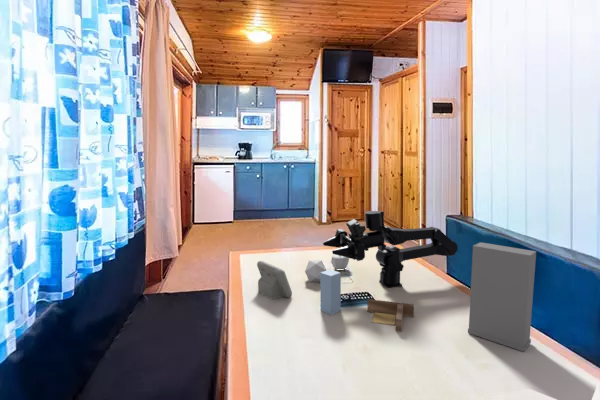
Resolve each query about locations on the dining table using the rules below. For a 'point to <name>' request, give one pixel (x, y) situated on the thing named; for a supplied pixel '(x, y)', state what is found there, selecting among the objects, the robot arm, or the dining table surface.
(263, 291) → the digital clock
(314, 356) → the dining table surface
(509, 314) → the grey upright tombstone
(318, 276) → the die
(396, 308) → the wooden t-shaped piece
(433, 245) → the robot arm
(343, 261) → the apple
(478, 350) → the dining table surface
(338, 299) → the large blue square block
